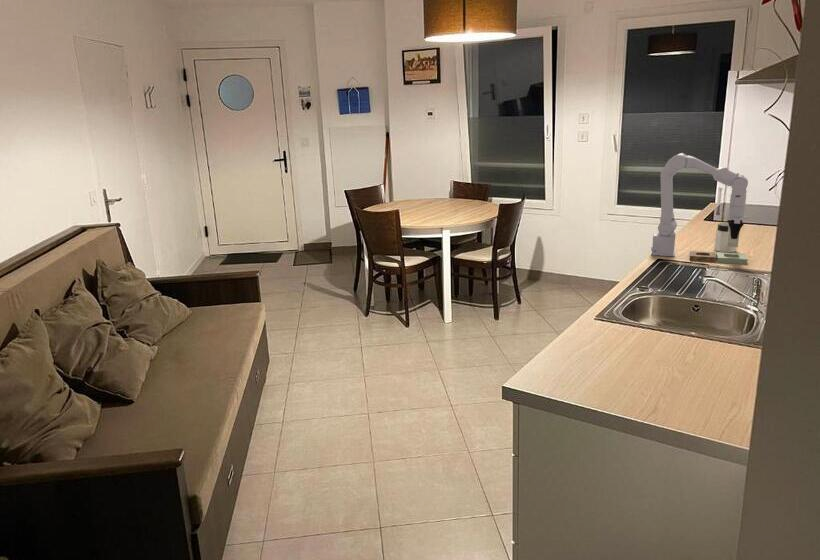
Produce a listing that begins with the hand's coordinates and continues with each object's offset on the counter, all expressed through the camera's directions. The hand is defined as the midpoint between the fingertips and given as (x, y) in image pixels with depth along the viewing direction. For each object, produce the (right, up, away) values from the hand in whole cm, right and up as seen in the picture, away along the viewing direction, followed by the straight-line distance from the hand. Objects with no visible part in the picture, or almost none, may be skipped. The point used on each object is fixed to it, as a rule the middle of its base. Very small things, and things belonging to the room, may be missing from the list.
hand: (733, 237), depth 257 cm
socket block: (-10, -8, +7) cm, 15 cm away
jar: (+7, -5, +20) cm, 21 cm away
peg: (0, -3, +1) cm, 4 cm away
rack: (0, -9, +3) cm, 10 cm away
